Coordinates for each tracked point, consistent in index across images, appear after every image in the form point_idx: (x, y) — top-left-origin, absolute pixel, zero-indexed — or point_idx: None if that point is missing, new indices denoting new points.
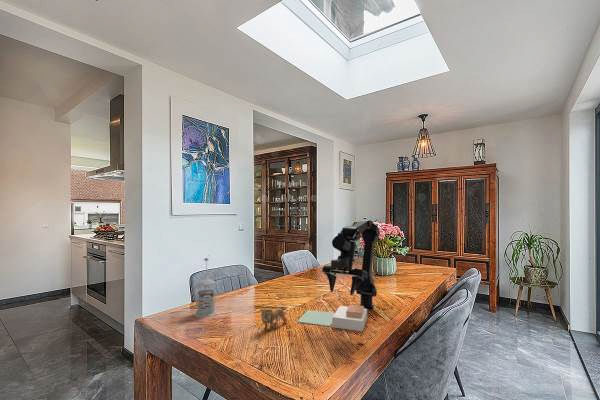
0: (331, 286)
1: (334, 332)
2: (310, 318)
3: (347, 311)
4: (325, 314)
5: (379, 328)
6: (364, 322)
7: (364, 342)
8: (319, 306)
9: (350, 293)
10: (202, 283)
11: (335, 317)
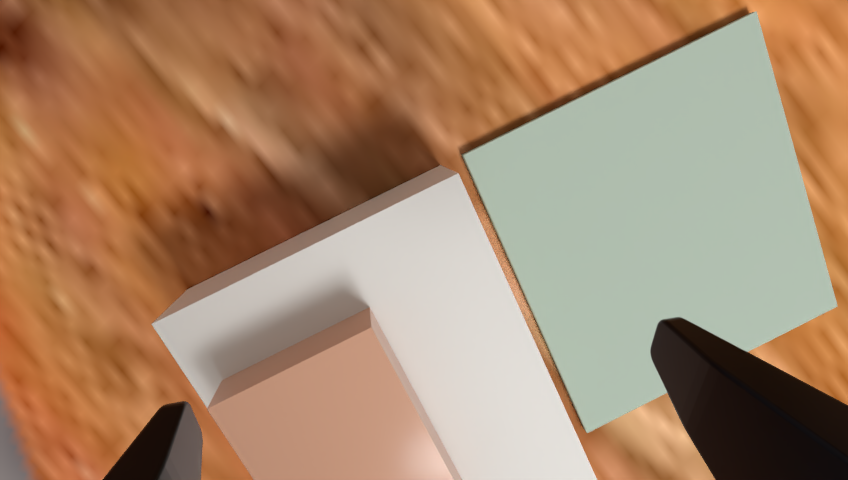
0: (737, 380)
1: (351, 82)
2: (703, 163)
3: (355, 333)
4: None
5: None
6: None
7: (8, 99)
8: None
9: (174, 415)
10: None
11: (427, 189)
